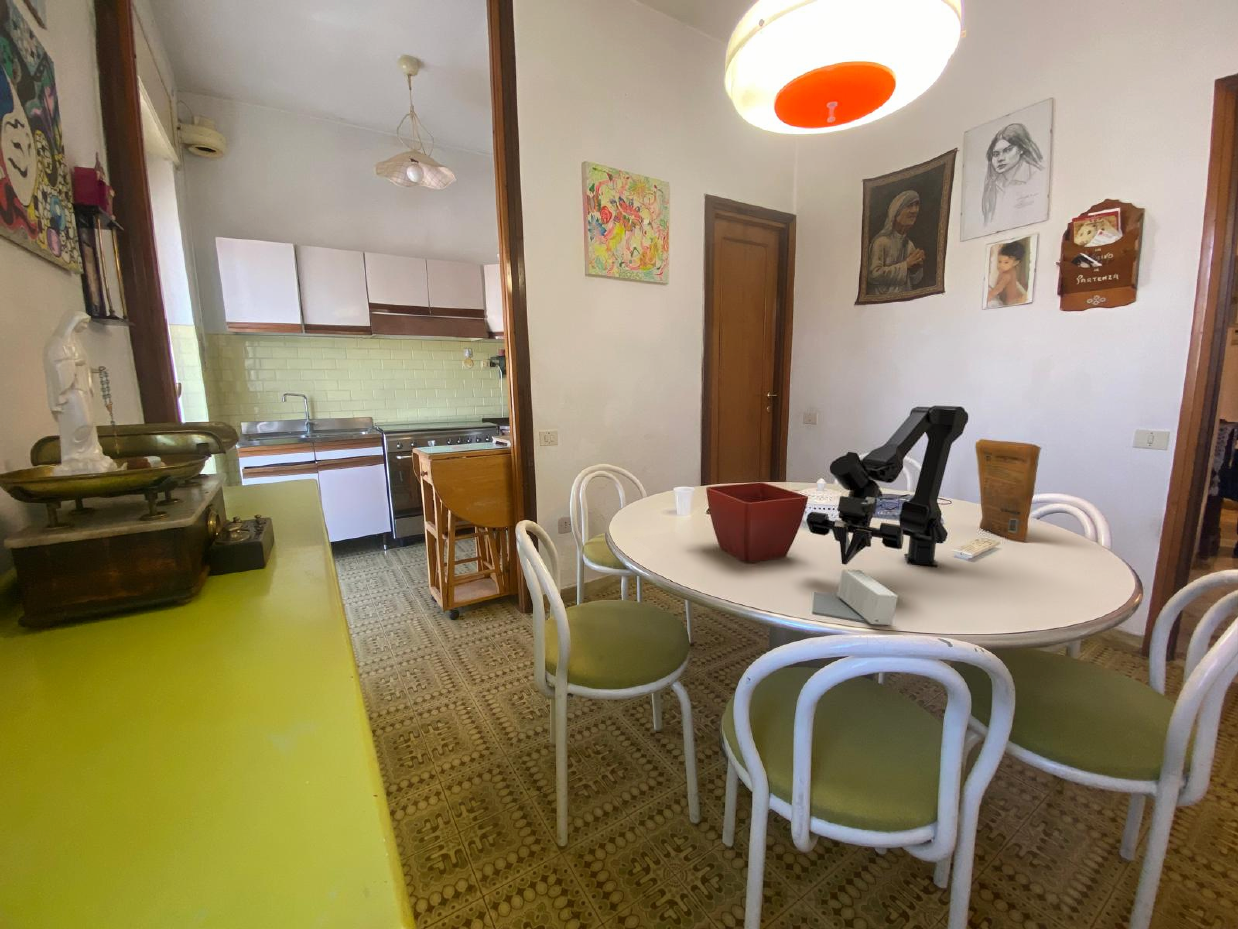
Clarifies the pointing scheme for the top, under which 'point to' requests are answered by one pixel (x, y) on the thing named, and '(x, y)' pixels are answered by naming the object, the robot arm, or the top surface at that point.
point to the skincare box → (867, 597)
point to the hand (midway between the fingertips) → (843, 563)
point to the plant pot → (755, 519)
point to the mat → (834, 607)
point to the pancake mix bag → (1006, 486)
